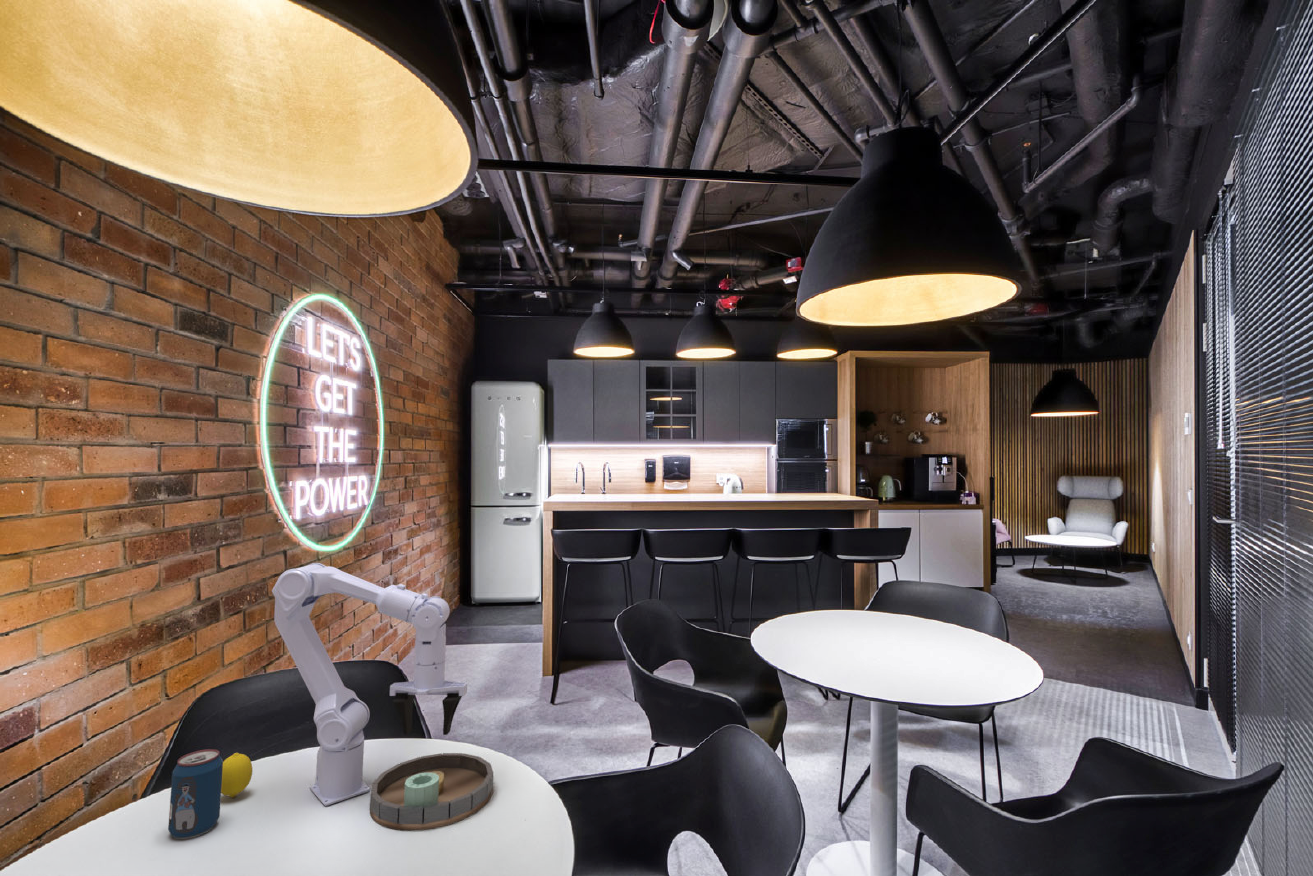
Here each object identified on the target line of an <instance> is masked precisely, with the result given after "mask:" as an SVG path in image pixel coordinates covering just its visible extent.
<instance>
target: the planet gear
mask: <svg viewBox="0 0 1313 876" xmlns="http://www.w3.org/2000/svg"><path fill="white" fill-rule="evenodd" d="M438 796H439V776H438V775H437V774H436V773H430V772H429V773H428V772H427V773H419V774H416V775H413V776H411V777H409V778H408V779H407V780H406V782H405V793H404V806H426V805H431V804H437V803H438Z"/></svg>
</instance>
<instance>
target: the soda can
mask: <svg viewBox="0 0 1313 876" xmlns="http://www.w3.org/2000/svg"><path fill="white" fill-rule="evenodd" d="M220 755H221V754H220V751H219V750H218V749H212V748H209V749H201V750H196V751H193V752H190V753H187V754H185V755H182V756H180V758H178V760H177V764H176V766H175V767H174V769H173V770H172V773H171V774H172V775H171V784H170V785H171V786H170V799H169V800H170V801H169V813H168V824H167V825H168V827H167V829H168V832H169V834H170V835H171V836H172V837H173V839H178V840H188V838H189V839H194V838H196V837H199V836H202V835H204V834H206V833H207V831H208V832H209V831H211V830H212V829H213V828H214V826H215V825H216V823H217V821H218V820H219V819H220V813H221V802H222V801H221V799H222V798H221V796H222V793H221V785H222V769H223V762H224V761H223V759H222V757H221V756H220ZM210 829H211V830H210ZM203 833H204V834H203ZM201 834H202V835H201Z"/></svg>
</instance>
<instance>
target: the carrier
mask: <svg viewBox="0 0 1313 876" xmlns="http://www.w3.org/2000/svg"><path fill="white" fill-rule="evenodd" d="M427 772H428V773H429V772H430V773H436V774H437V775H438V776H439V796H438V803H437V804H431V805H426V806H404V793H405V782H406V780H407V779H408V778H409V777H411V776H413V775H416V774H419V773H427ZM493 788H494V770H493V766H492V763H490V762H488V761H487V760H485V759H484V758H482V757H480V756H477V755H473V754H469V753H461V752H457V753H456V752H453V753H452V752H443V753H442V752H441V753H434V754H430V755H429V754H428V755H423V756H418V757H415V758H412V759H409V760H405V761H403V762H399V763H398V764H395V765H394V766H391V767H390V768H388V769H386V770H385V771H383V772H381V773H380V775H378V777H377V778H376V779H375V780H374V781H373V782H372V783H371V787H370V799H369V801H370V802H369V814H370V817H371V819H372V820H373V821H374V822H375V823H376V824H378V825H379V826H382V827H384V828H388V829H392V830H397V831H407V832H408V831H409V832H413V831H414V832H415V831H425V830H432V829H438V828H442V827H446V826H449V825H452V824H454V823H457V822H460V821H463V820H465V819H467V818H469V817H471V816H472V815H474V814H476V813H477V812H479V811H480V810H482V809H483V808H484V807H485V806H486V805H487V804H488V802H489V801H490V799H491V798H492V795H493V791H492V790H493ZM483 806H484V807H483ZM470 815H471V816H470Z"/></svg>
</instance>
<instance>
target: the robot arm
mask: <svg viewBox="0 0 1313 876" xmlns="http://www.w3.org/2000/svg"><path fill="white" fill-rule="evenodd" d="M271 592H272V595H273V596H274V598H275V599H274V613H273V614H274V618H273V620H274V624H275V627H276V628H277V630H278V632H279V634H280V636H281V638H282V640H283V642H284V645H285V647H286V648H287V650H288V653H289V654H290V656H291V659H292V660H293V662H294V664H295V666H296V668H297V671H298V672H299V674H300V675H301V678H302V680H303V681H304V684H305V686H306V687H307V690H308V692H309V693H310V696H311V698H312V699H313V701H314V704H315V709H314V712H313V713H314V715H313V721H314V724H315V725H316V739H317V742H318V744H319V745H320V747H319V748H318V750H317V753H316V764H315V765H316V770H315V783H314V784H311V785H310V786H309V789H310V790H311V792H312V793H313V794H314V795H315V797H316V798H317V799H318V800H319V801H320V802H321V803H322V805H324V806H325V807H326V806H327V807H328V806H330V805H333V804H337V803H338V802H342V801H345V800H347V799H351V798H353V797H355V796H359V795H362V794H365V793H368V792H371V787H369V786H368V785H367V783H365V782H364V781H363V773H364V770H363V769H364V753H365V751H364V749H365V748H364V747H365V735H364V728H365V727H366V725H368V723H369V720H370V713H371V712H370V709H369V706H368V705H367V704H366V703H365V702H364V701H362V700H360V698H359V697H358V696H357V694H356V692H355V691H354V690H352V689H350V688H348V687H346V686H345V685H344V683H343V680H342V678H341V677H340V675H339V673H338V671H337V669H336V667H335V665H334V663H333V661H332V660H331V657H330V655H329V653H328V652H327V649H326V648H325V645H324V643H323V642H322V639H321V638H320V636H319V633H318V631H317V630H316V628H315V626H314V624H313V622H312V620H311V618H310V615H311V612H312V611H313V609H314V607H315V604H316V603H317V601H318V599H319V598H320V597H322V596H323V595H327V594H333V593H335V594H340V595H344V596H346V597H350V598H354V599H357V600H359V601H364V602H367V603H371V604H373V605H375V606H376V608H377V610H378V613H380V614H383V615H385V616H388V617H391V618H393V619H396V620H399V621H402V622H405V623H407V624H412V626H413V627H414V629H415V639H414V640H415V641H414V661H413V662H414V663H413V681H412V680H411V681H404V682H403V681H402V682H394V683H392V684H390V686H389V696H390V697H394V699H392V705H393V706H394V708H395V710H396V712H397V714H398V716H399V719H400V722H401V725H402V726H401V727H402V731H403V735H404V736H406V735H409V733H411V732H412V728H413V709H414V703H415V702H414V701H415V697H416V696H418V695H419V696H423V695H424V696H429V695H430V696H445V697H444V699H442V700H441V701H442V708H443V723H442V724H443V725H442V726H443V727H442V735H443V736H446V735H448V734H449V733H451V729H452V728H451V727H452V724H453V719H454V716H455V714H456V711H457V708H458V706H459V704H460V701H461V699H462V698H463V697H465V695H466V694H467V693H468V682H459V681H452V680H451V681H449V680H445V670H446V649H447V648H446V646H447V637H446V630H447V624H446V623H445V622H446V621H447V619H448V618H449V617H450V611H451V610H450V606H449V604H448V602H447V601H446V600H445V599H443V598H441V597H440V596H439V595H438V596H437V595H435V596H434V595H433V596H431V597H429V594H428V593H422V594H421V593H419V592H415V591H412V590H409V589H407V585H405V584H402V583H399V584H397V585H395V584H390V585H389V586H387V587H381V586H380V585H377V584H374V583H372V582H370V581H367V580H365V579H362V578H360V577H357V576H355V575H353V574H350V573H347V572H345V571H343V570H341V569H339V568H336V567H334V566H331V565H327V566H326V565H325V564H323V563H320V562H319V563H318V562H312V563H309V564H307V565H305V566H301V567H297V568H291V569H287V570H285V571H284V572H282V574H280V576H279V577H278V578H277V580H276V582H275V584H274V586H273V588H272V589H271Z"/></svg>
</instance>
